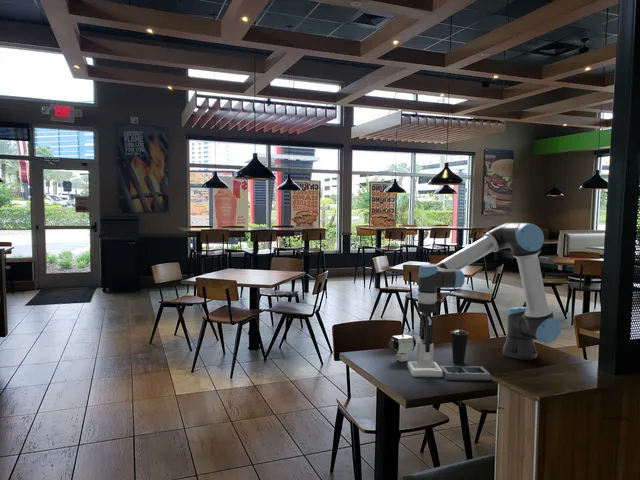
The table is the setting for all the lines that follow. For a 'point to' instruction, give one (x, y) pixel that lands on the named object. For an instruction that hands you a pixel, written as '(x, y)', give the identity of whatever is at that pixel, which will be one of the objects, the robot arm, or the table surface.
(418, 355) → the white block
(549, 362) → the table surface
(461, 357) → the drinking cup
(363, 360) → the table surface
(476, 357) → the table surface
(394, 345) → the pneumatic valve
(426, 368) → the tray
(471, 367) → the gray divided tray
